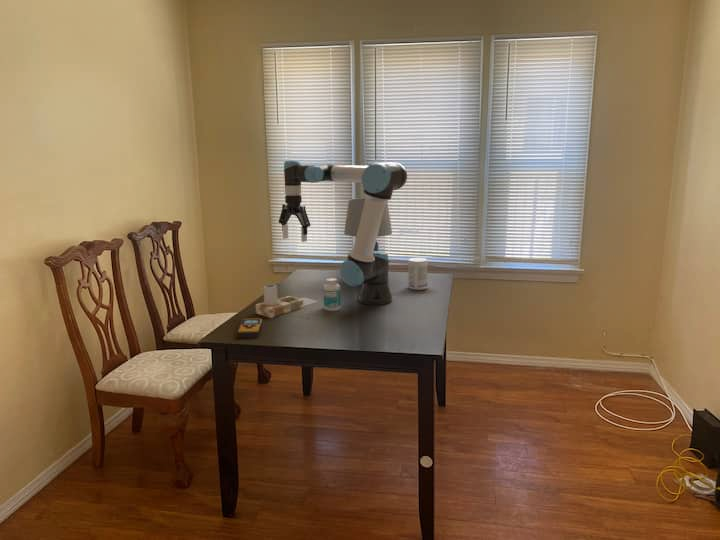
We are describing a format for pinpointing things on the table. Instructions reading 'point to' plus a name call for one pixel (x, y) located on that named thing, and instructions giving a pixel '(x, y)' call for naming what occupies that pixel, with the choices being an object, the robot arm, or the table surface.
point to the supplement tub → (417, 273)
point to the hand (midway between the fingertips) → (294, 240)
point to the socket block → (280, 307)
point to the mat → (308, 301)
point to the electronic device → (250, 328)
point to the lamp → (355, 216)
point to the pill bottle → (332, 295)
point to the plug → (270, 295)
